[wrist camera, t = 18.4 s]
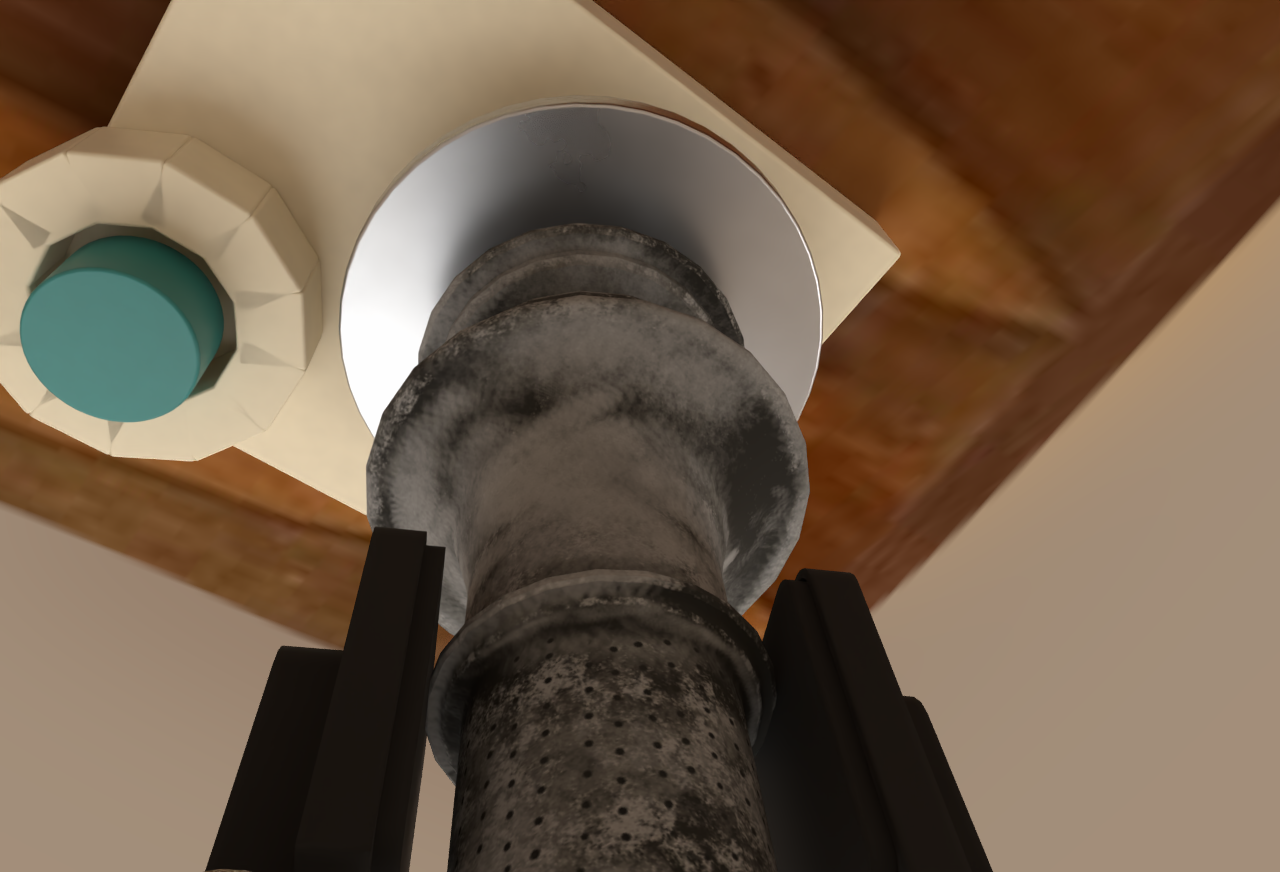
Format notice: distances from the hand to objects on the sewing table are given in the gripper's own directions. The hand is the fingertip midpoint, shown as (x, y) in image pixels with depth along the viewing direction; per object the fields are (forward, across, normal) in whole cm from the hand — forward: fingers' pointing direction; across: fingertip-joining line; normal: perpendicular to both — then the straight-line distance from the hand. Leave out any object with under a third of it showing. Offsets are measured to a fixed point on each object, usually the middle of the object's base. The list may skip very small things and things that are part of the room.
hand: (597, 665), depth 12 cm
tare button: (+9, +8, +1) cm, 12 cm away
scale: (+12, +2, 0) cm, 12 cm away
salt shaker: (+7, 0, 0) cm, 7 cm away
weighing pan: (+9, 0, 0) cm, 9 cm away
